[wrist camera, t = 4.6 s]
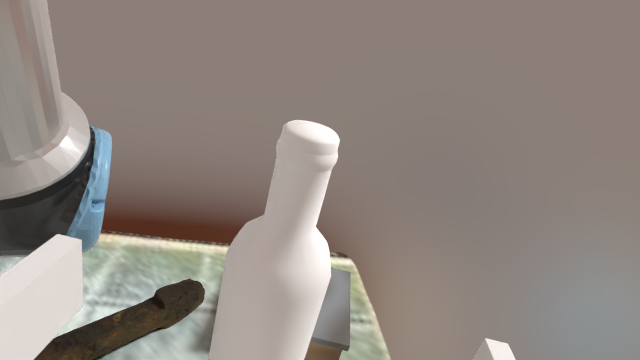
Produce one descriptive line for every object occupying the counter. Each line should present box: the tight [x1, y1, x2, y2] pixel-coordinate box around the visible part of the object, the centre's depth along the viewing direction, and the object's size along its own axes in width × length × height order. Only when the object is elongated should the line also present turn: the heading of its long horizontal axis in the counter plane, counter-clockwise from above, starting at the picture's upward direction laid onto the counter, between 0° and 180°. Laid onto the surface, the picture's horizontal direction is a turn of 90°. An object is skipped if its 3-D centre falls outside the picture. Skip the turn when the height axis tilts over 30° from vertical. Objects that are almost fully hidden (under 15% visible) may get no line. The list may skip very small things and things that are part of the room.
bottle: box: [208, 120, 340, 360], centre depth 29 cm, size 8×8×30 cm
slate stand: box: [304, 268, 350, 360], centre depth 48 cm, size 13×13×4 cm
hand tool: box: [34, 279, 205, 360], centre depth 40 cm, size 19×4×5 cm, turn 136°
